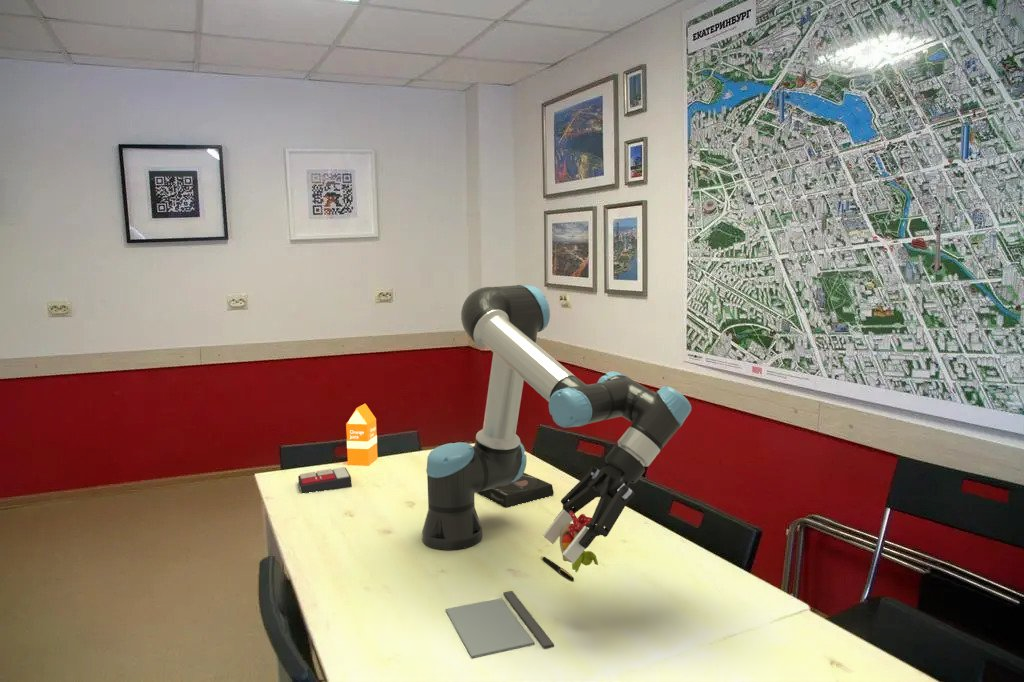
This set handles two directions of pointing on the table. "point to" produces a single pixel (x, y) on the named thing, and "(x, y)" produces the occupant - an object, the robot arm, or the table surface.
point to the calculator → (325, 480)
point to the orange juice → (361, 437)
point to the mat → (495, 626)
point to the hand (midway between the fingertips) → (557, 548)
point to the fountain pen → (558, 568)
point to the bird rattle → (569, 535)
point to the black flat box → (519, 491)
